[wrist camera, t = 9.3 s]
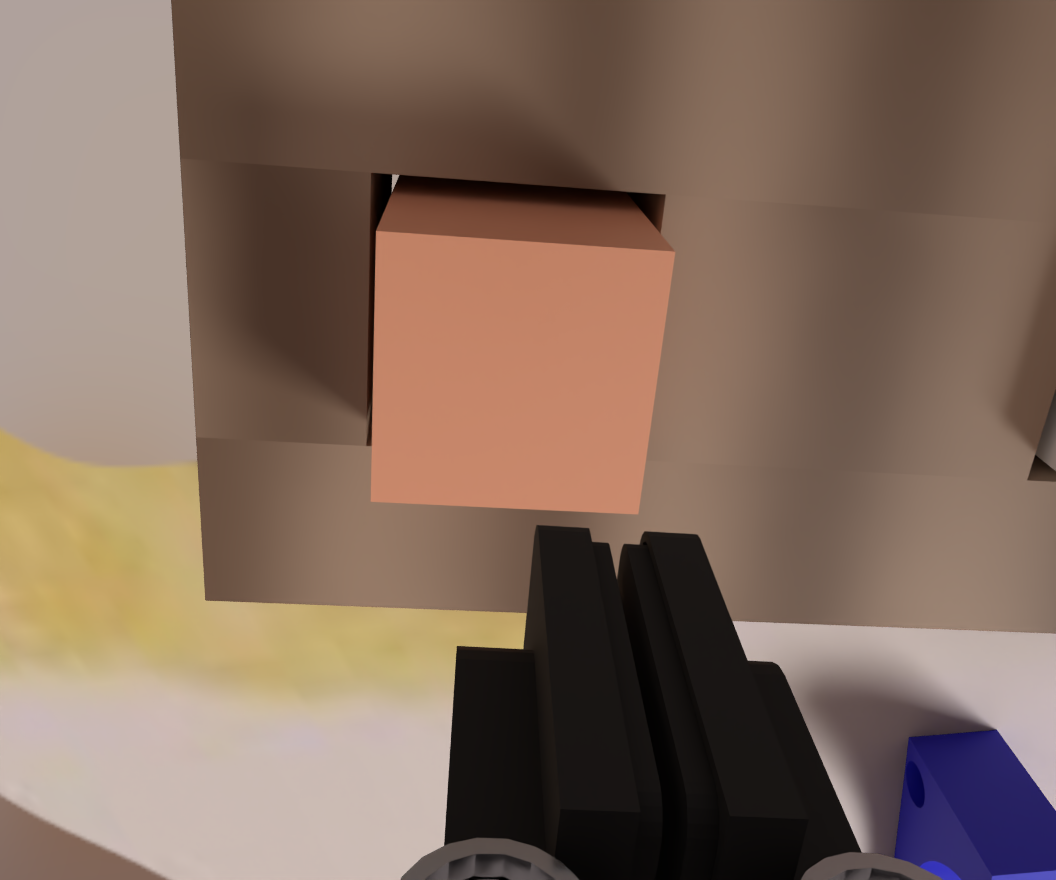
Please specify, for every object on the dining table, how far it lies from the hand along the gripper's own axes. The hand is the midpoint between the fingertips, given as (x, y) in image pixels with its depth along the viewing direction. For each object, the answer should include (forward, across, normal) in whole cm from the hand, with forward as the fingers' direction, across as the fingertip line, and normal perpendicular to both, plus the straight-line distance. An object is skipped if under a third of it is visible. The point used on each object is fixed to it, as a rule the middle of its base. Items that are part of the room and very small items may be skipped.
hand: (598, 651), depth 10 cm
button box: (+17, -6, 0) cm, 18 cm away
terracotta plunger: (+15, +1, 0) cm, 15 cm away
